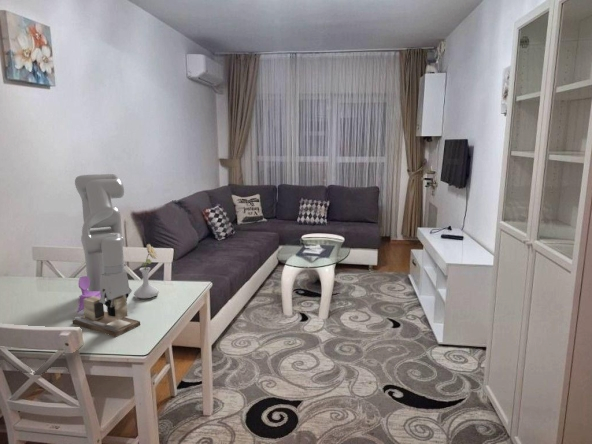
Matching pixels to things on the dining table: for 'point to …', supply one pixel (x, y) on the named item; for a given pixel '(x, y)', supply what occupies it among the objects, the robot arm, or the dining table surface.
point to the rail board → (103, 319)
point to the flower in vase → (146, 288)
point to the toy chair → (86, 291)
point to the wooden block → (119, 308)
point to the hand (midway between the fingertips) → (117, 313)
